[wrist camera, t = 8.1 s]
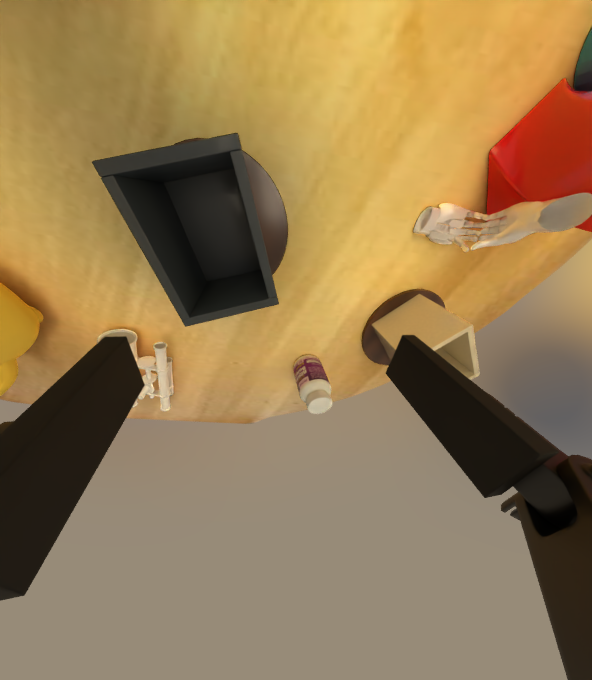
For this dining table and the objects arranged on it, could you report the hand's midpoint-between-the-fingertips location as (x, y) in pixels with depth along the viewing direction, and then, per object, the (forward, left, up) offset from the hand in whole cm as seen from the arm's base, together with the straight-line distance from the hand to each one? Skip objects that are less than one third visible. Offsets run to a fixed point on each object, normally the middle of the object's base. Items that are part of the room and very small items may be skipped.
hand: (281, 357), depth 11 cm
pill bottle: (+15, -15, -21) cm, 30 cm away
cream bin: (+30, -3, -20) cm, 36 cm away
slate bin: (-5, 0, -21) cm, 21 cm away
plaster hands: (+21, +15, -15) cm, 30 cm away
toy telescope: (-11, -23, -16) cm, 30 cm away
